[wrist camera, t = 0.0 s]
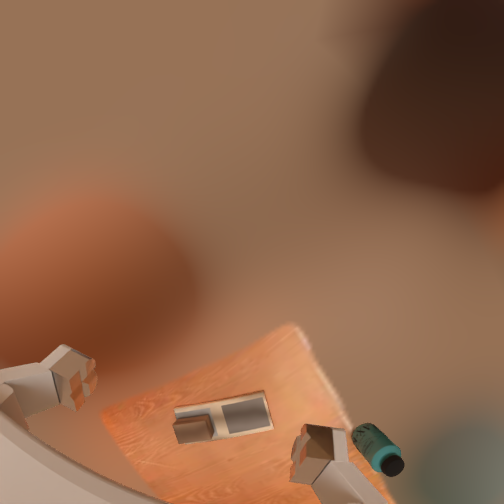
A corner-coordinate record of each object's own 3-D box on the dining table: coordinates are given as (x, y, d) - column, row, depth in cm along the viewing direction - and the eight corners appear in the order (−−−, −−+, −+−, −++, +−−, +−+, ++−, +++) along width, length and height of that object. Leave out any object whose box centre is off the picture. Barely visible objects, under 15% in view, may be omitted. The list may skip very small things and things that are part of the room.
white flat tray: (273, 426, 59) (273, 428, 57) (186, 441, 58) (185, 444, 56) (263, 390, 60) (263, 392, 59) (175, 407, 60) (173, 409, 58)
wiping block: (214, 431, 57) (211, 439, 52) (184, 435, 57) (178, 443, 52) (208, 413, 58) (205, 420, 53) (178, 417, 58) (172, 425, 53)
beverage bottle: (377, 419, 58) (416, 451, 38) (371, 444, 57) (405, 481, 37) (352, 420, 58) (384, 454, 39) (346, 445, 57) (374, 484, 37)
